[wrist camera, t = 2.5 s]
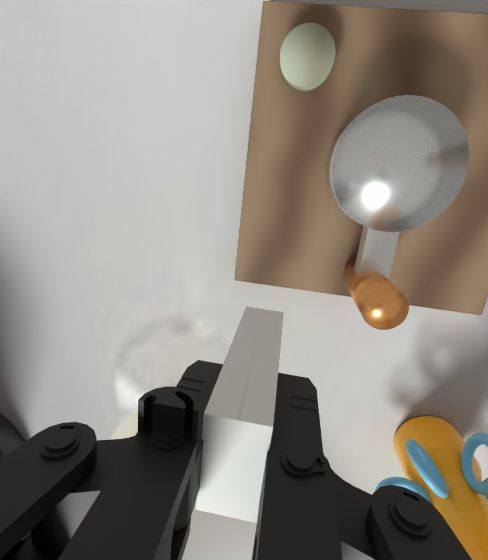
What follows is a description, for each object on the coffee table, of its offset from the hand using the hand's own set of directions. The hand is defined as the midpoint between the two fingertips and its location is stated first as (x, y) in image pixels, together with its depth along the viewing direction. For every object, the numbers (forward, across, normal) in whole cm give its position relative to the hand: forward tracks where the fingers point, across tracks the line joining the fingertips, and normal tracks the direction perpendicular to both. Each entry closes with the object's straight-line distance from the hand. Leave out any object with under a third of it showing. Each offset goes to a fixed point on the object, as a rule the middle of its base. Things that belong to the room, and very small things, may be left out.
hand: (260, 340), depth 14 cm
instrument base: (+17, -6, -8) cm, 20 cm away
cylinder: (+17, -16, +16) cm, 29 cm away
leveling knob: (+15, -7, -5) cm, 17 cm away
